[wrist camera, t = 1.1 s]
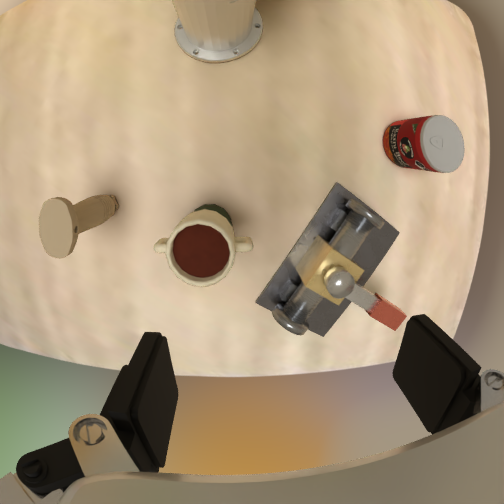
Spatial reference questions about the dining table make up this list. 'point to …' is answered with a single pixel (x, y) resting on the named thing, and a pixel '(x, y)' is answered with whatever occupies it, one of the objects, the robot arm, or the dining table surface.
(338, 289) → the lever
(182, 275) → the character mug
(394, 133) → the canned food
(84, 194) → the dining table surface
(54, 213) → the handle
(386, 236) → the valve
